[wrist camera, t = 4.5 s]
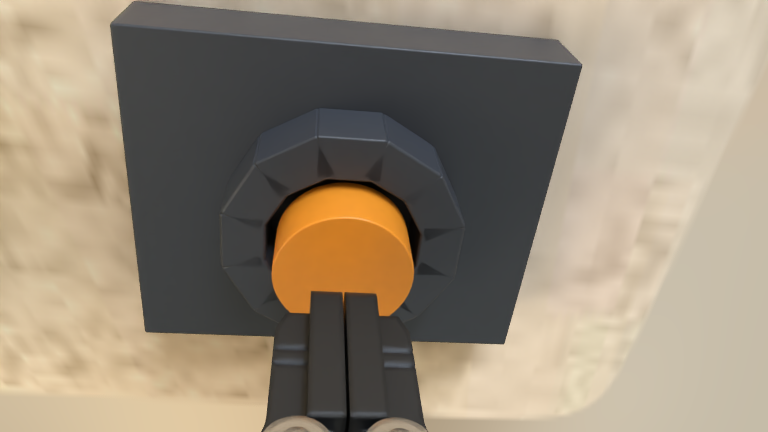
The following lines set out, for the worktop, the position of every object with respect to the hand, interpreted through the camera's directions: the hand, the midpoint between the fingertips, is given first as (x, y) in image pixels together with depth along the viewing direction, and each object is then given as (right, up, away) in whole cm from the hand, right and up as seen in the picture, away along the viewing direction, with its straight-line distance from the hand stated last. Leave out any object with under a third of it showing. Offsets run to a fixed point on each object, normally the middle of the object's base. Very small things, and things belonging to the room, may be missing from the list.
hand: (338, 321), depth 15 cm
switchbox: (0, +4, +6) cm, 7 cm away
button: (0, +2, +3) cm, 3 cm away
